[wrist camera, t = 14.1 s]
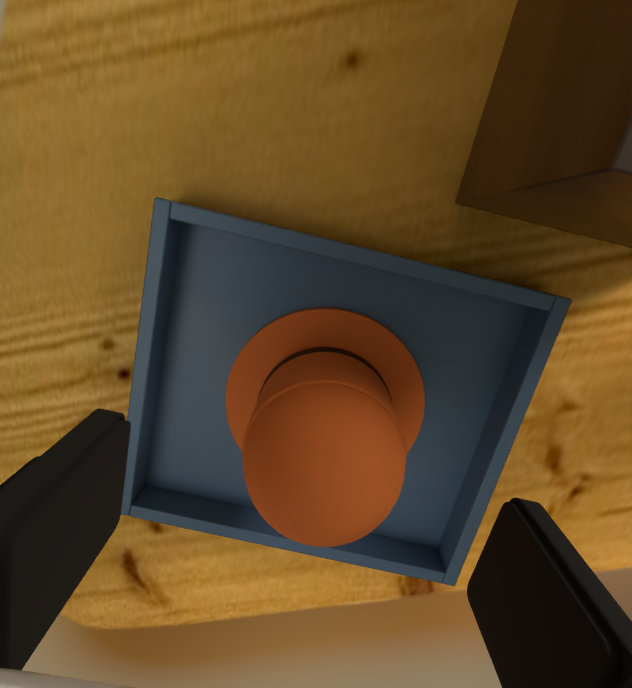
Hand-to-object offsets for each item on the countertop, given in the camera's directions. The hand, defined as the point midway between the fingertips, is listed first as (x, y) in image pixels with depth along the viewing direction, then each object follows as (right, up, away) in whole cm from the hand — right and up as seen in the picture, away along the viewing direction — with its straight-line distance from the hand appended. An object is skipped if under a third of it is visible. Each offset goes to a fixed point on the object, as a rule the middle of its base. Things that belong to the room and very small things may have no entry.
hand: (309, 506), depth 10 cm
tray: (0, +2, +8) cm, 8 cm away
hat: (0, +1, +8) cm, 8 cm away
